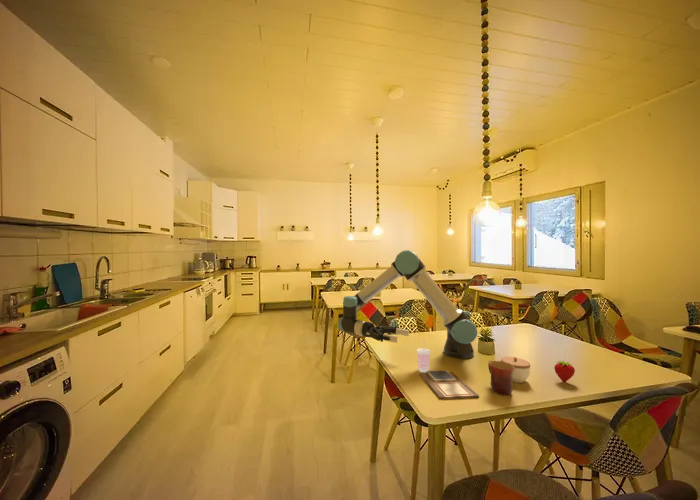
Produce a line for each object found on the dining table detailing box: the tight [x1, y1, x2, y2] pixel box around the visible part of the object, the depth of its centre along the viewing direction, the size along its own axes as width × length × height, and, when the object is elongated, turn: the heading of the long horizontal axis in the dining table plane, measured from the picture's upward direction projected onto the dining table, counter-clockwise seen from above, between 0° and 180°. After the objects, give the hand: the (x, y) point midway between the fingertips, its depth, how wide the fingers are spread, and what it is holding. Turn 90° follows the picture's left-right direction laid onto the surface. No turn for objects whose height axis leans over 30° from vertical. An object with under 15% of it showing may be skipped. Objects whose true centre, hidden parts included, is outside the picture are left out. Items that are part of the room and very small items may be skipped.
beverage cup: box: [416, 339, 431, 373], centre depth 126 cm, size 6×6×14 cm
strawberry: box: [553, 358, 576, 383], centre depth 116 cm, size 6×8×10 cm
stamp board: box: [419, 369, 480, 400], centre depth 111 cm, size 15×21×2 cm
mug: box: [488, 360, 515, 396], centre depth 108 cm, size 12×9×10 cm
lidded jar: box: [500, 356, 531, 384], centre depth 118 cm, size 11×11×9 cm
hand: (402, 336), depth 132 cm, fingers open, 13 cm apart
